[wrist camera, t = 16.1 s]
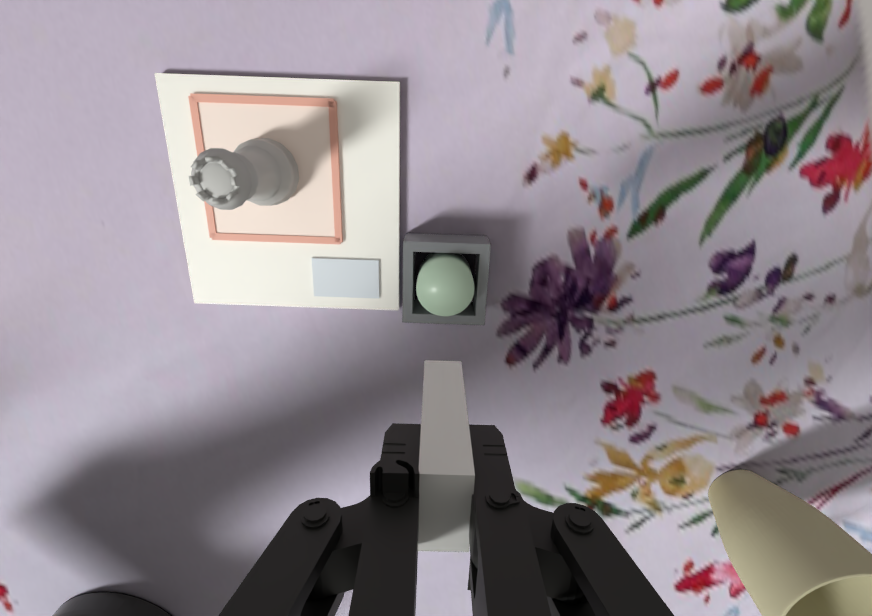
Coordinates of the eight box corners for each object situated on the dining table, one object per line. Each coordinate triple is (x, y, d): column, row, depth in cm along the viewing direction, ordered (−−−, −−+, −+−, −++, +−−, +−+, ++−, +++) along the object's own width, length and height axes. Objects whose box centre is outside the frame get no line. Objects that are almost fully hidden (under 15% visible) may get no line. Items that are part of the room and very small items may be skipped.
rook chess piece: (298, 210, 31) (253, 231, 24) (235, 197, 31) (169, 214, 23) (304, 145, 30) (258, 145, 22) (238, 131, 29) (169, 126, 22)
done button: (418, 298, 34) (415, 315, 30) (419, 248, 32) (416, 259, 29) (469, 300, 34) (472, 317, 30) (472, 249, 32) (476, 261, 29)
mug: (657, 503, 41) (738, 637, 30) (740, 433, 38) (864, 553, 27) (734, 554, 44) (836, 697, 32) (818, 492, 41) (962, 624, 29)
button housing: (405, 307, 35) (402, 322, 32) (406, 232, 32) (403, 241, 30) (480, 310, 35) (484, 325, 32) (486, 235, 32) (490, 244, 30)
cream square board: (198, 300, 35) (192, 304, 34) (160, 74, 29) (151, 72, 28) (399, 307, 35) (398, 311, 34) (400, 83, 29) (398, 81, 28)
